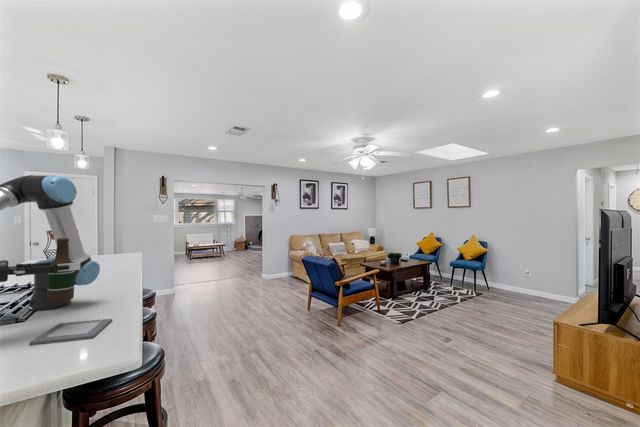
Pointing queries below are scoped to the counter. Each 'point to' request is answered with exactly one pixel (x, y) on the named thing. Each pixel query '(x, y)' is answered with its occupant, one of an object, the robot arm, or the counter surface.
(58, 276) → the beer bottle
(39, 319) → the counter surface
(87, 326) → the picture frame
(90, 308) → the counter surface
